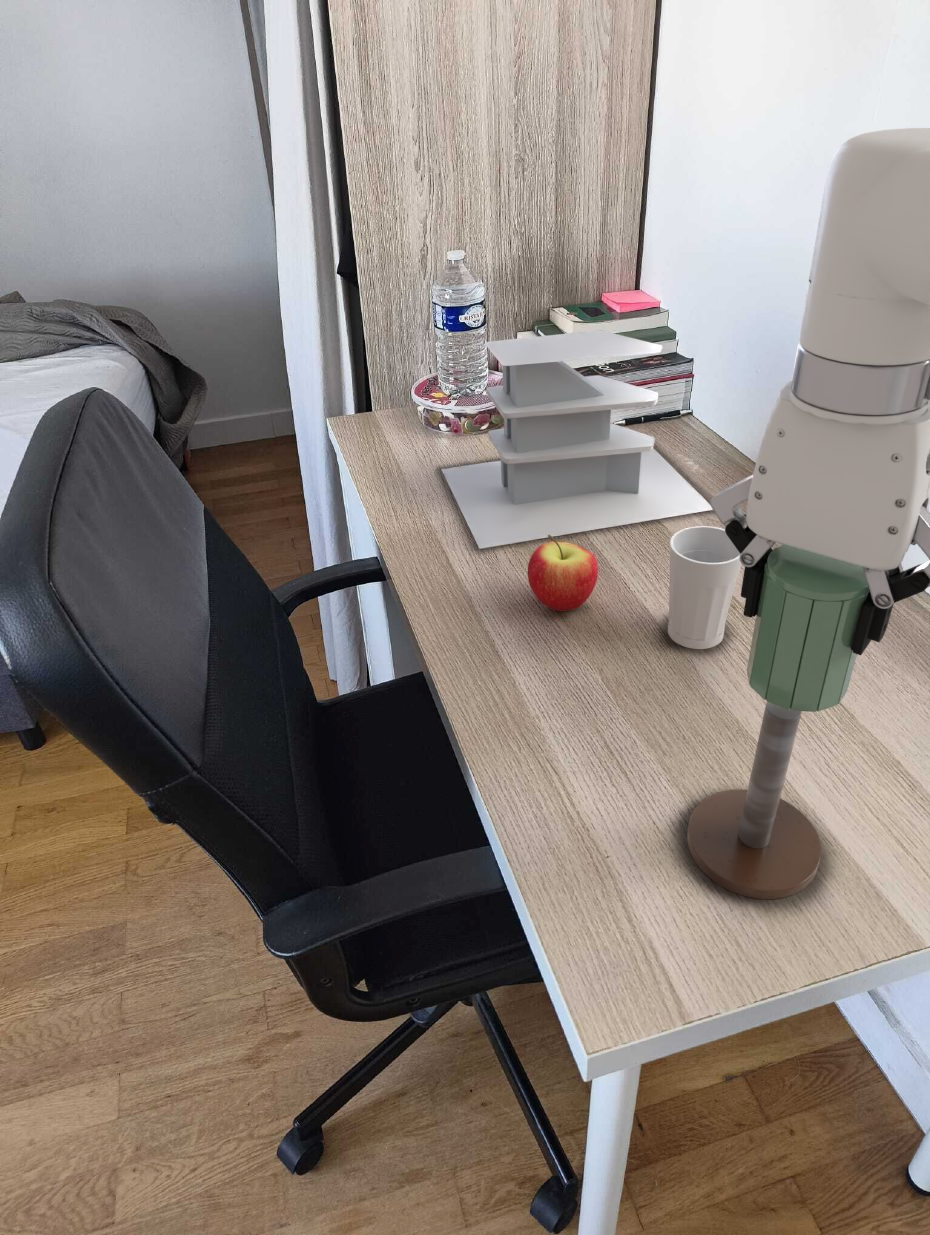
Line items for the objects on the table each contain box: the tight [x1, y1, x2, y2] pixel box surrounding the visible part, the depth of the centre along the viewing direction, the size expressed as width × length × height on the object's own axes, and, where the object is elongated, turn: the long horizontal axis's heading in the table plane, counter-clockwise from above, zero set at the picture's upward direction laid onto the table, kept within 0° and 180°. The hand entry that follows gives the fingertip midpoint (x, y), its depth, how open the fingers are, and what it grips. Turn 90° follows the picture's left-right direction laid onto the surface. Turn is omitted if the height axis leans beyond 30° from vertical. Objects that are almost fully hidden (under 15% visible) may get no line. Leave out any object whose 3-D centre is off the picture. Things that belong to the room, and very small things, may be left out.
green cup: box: [746, 544, 871, 713], centre depth 59 cm, size 7×7×10 cm
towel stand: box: [686, 701, 822, 900], centre depth 69 cm, size 11×11×16 cm
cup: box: [667, 525, 743, 650], centre depth 95 cm, size 8×8×12 cm
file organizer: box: [441, 329, 714, 550], centre depth 122 cm, size 26×35×22 cm
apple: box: [527, 535, 599, 612], centre depth 101 cm, size 8×8×10 cm
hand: (808, 623), depth 59 cm, fingers closed on green cup, 6 cm apart
